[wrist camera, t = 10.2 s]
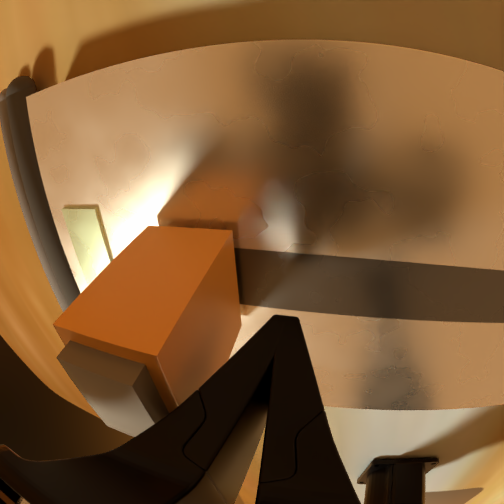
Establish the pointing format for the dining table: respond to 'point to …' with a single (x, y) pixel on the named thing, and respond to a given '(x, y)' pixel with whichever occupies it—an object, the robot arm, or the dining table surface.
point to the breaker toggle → (153, 325)
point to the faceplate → (307, 199)
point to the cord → (34, 189)
